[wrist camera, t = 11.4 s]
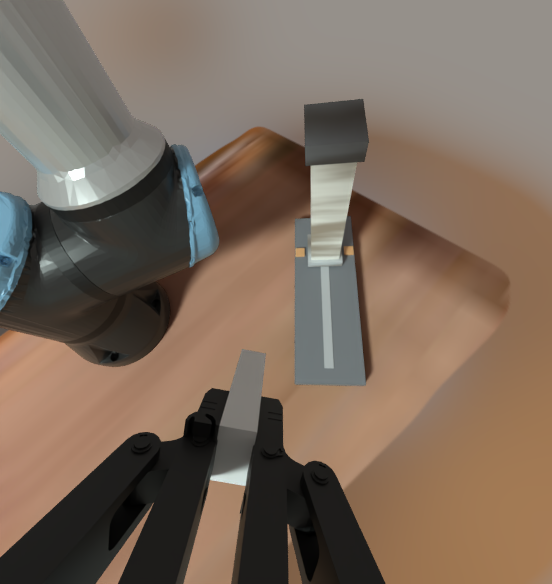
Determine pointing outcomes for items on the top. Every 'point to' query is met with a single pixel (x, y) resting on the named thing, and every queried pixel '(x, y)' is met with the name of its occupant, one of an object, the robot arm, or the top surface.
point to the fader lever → (332, 172)
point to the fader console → (327, 316)
